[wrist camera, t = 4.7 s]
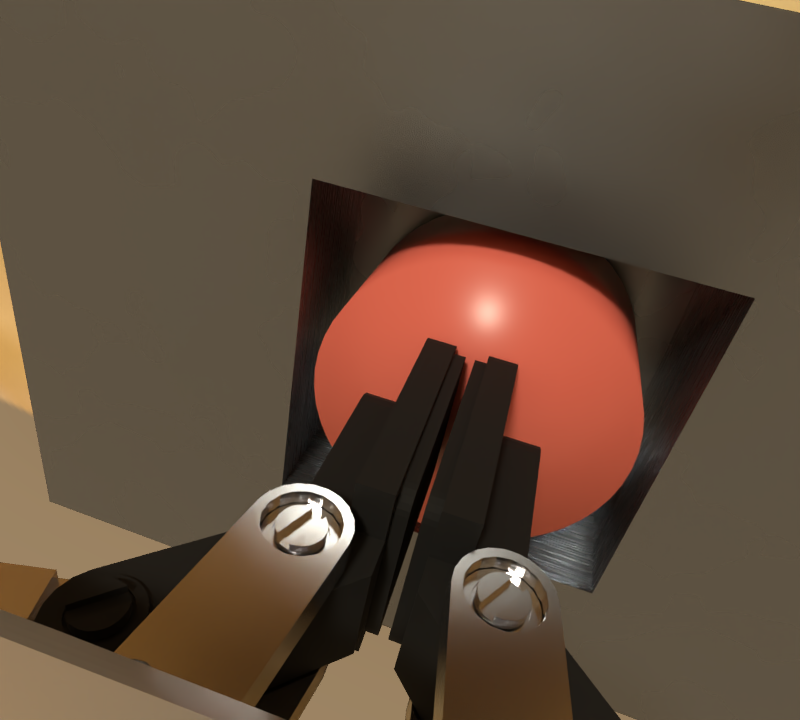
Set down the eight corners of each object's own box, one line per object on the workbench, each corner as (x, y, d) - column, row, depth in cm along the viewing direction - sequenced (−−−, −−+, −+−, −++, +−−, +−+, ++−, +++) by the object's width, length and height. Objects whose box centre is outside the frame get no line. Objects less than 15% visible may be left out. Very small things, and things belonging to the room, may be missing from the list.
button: (685, 253, 12) (707, 323, 9) (580, 480, 15) (575, 577, 13) (386, 174, 13) (333, 219, 10) (348, 405, 16) (301, 482, 13)
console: (1150, 94, 11) (1580, 173, 6) (767, 579, 19) (825, 789, 14) (163, -112, 14) (-78, -169, 9) (176, 384, 22) (50, 501, 17)
